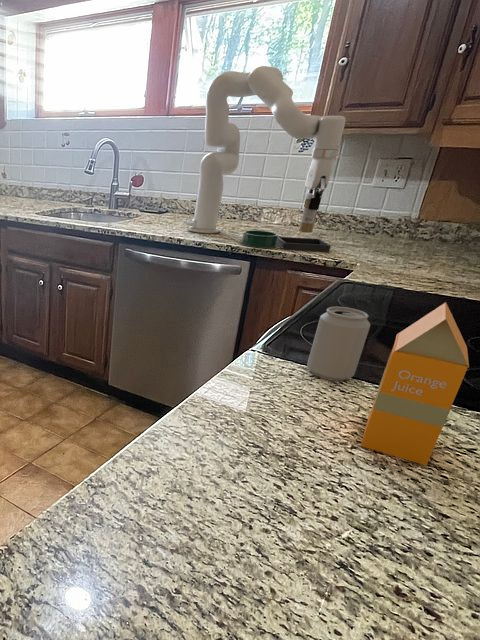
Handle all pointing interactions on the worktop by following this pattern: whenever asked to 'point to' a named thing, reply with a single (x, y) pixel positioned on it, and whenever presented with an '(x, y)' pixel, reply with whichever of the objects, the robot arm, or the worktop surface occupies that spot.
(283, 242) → the tray
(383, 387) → the orange juice
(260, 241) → the bowl
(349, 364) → the can
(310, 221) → the sprinkles bottle
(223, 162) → the robot arm
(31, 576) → the worktop surface
